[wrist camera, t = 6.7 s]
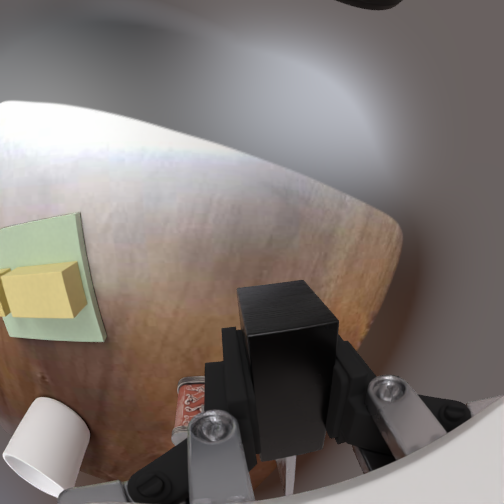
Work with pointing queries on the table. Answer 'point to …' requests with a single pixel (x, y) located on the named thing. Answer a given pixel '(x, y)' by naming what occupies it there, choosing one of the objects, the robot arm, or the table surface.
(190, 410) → the lighter
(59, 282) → the butter
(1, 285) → the butter pat
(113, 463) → the table surface
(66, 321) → the butter plate
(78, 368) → the table surface
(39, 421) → the mug
